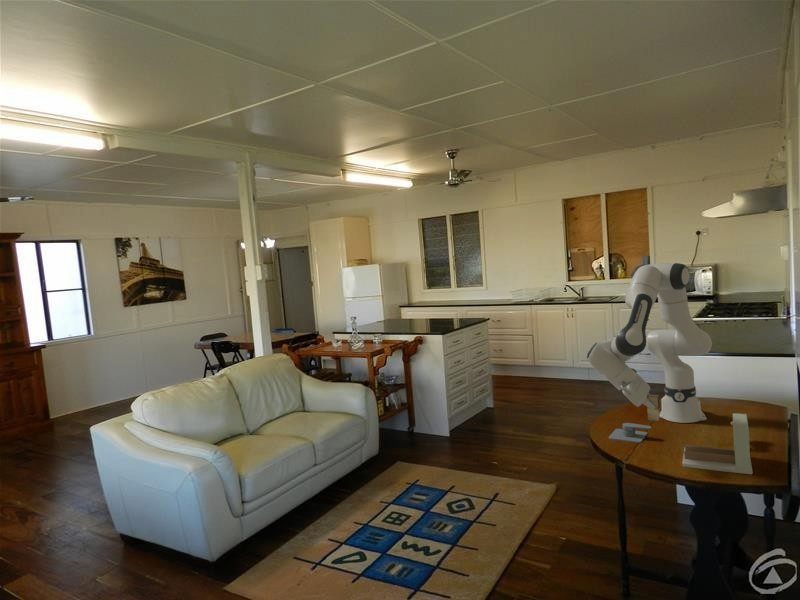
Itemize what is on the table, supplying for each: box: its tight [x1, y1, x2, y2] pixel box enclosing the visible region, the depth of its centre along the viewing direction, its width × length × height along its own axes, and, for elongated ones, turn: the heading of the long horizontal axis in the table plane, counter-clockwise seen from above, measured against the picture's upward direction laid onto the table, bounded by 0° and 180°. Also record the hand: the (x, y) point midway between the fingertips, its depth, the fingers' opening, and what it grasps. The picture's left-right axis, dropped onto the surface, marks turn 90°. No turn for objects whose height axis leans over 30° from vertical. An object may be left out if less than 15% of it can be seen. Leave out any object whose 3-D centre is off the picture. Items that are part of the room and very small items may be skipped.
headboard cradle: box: [681, 413, 753, 475], centre depth 180 cm, size 16×20×15 cm
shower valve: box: [608, 422, 652, 444], centre depth 211 cm, size 12×6×15 cm
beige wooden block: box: [646, 394, 661, 422], centre depth 189 cm, size 4×4×8 cm
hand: (655, 406), depth 189 cm, fingers closed on beige wooden block, 3 cm apart
